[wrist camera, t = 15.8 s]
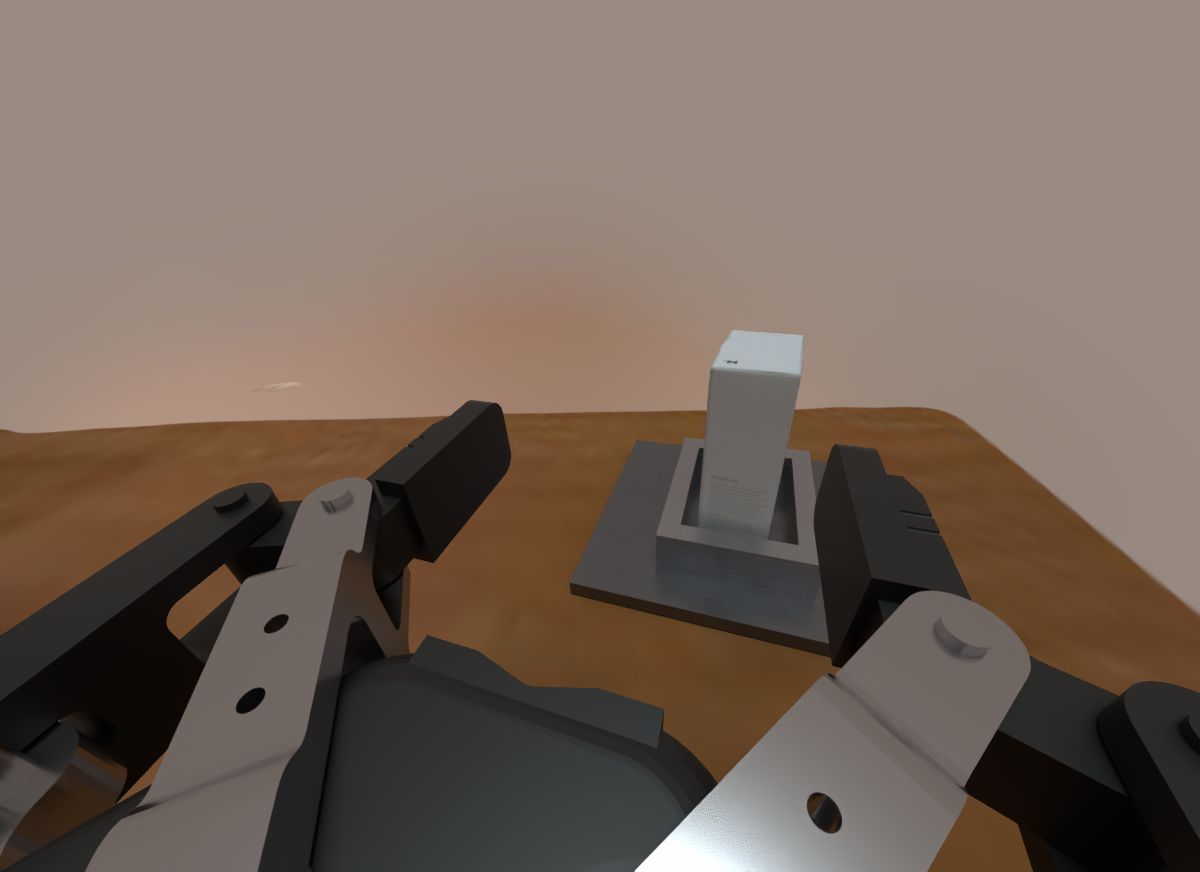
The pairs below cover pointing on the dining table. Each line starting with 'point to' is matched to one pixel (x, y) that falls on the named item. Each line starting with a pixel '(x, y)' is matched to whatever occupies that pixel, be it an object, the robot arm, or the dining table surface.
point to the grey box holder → (708, 551)
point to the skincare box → (748, 430)
